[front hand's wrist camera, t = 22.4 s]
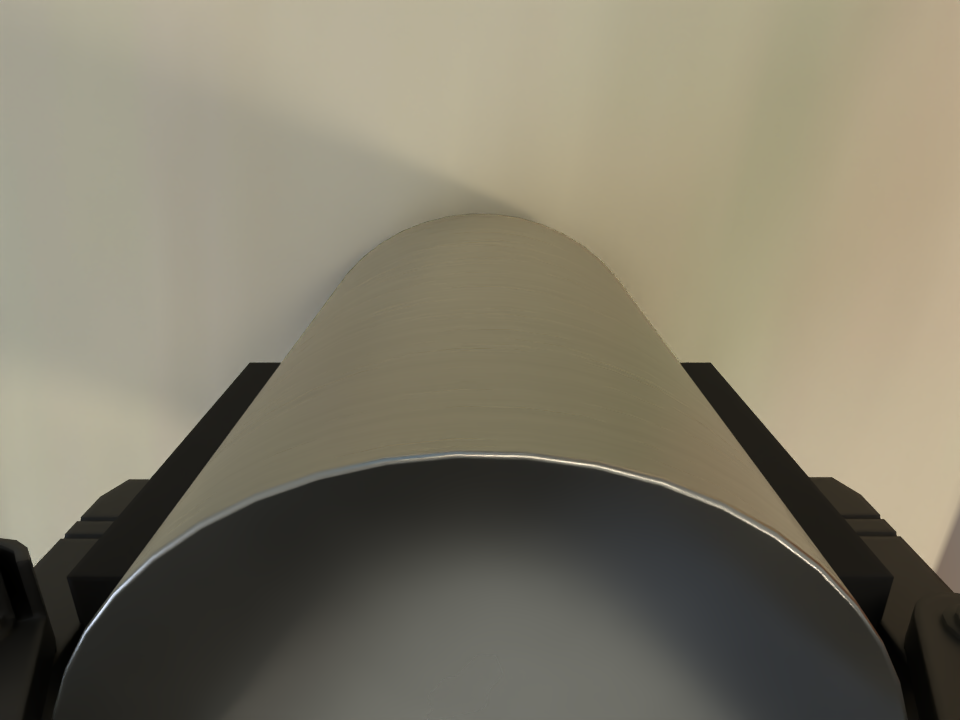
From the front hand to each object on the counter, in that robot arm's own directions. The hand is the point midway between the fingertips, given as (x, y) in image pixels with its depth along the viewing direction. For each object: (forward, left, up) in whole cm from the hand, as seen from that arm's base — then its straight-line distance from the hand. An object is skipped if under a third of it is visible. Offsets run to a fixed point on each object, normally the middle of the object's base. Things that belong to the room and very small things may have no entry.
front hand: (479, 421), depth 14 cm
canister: (0, 0, -2) cm, 2 cm away
